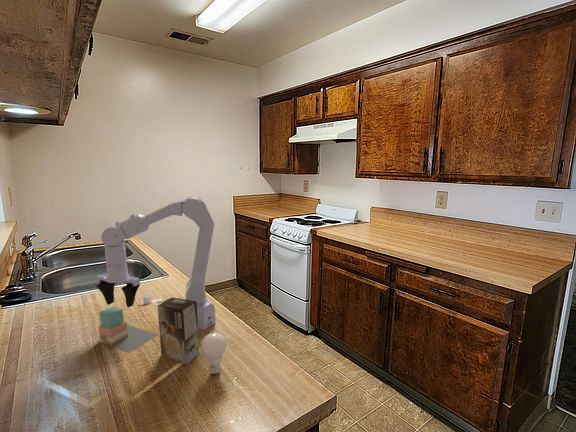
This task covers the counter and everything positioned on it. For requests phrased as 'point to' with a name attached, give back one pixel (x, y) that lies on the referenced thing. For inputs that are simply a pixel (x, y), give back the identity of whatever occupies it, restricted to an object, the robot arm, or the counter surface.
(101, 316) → the teal block
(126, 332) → the maple slab
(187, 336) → the coffee box
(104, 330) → the terracotta slab
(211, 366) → the lightbulb
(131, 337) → the slate board
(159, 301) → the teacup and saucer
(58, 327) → the counter surface
